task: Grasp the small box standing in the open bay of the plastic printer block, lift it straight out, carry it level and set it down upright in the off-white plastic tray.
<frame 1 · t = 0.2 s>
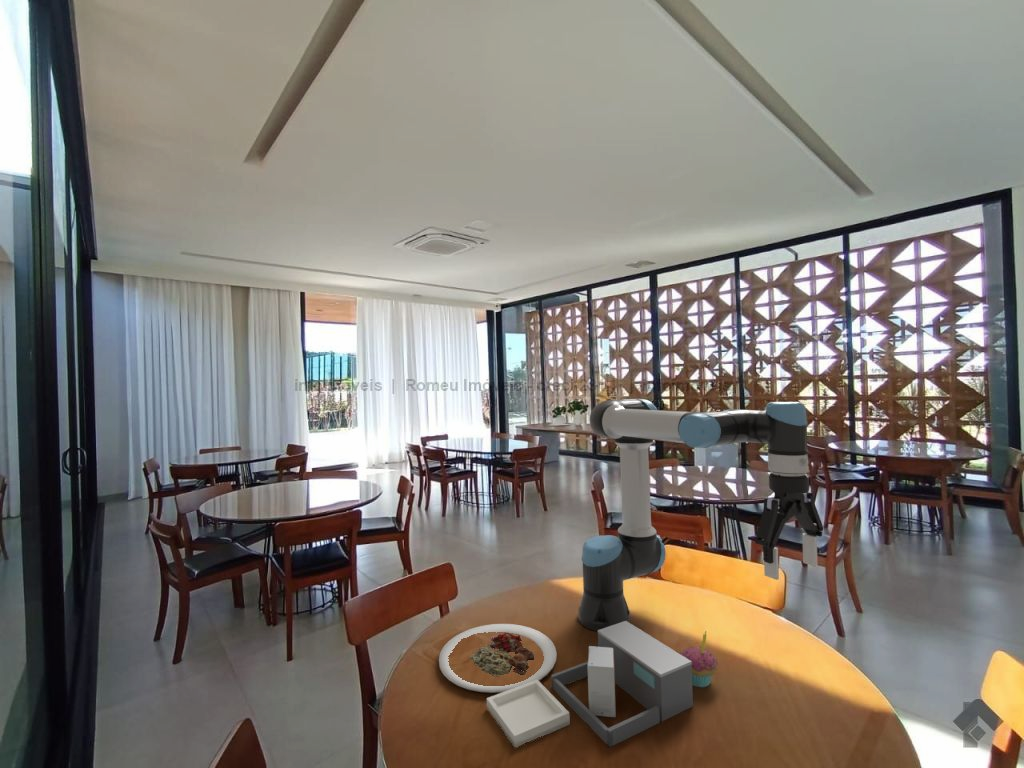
hand: (791, 570, 102), 28 cm above the table, fingers open, 13 cm apart
plated food: (498, 661, 121), on the table
cupcake: (698, 682, 109), on the table
tray: (527, 716, 99), on the table
small box: (602, 705, 102), resting in printer
printer: (602, 704, 102), on the table
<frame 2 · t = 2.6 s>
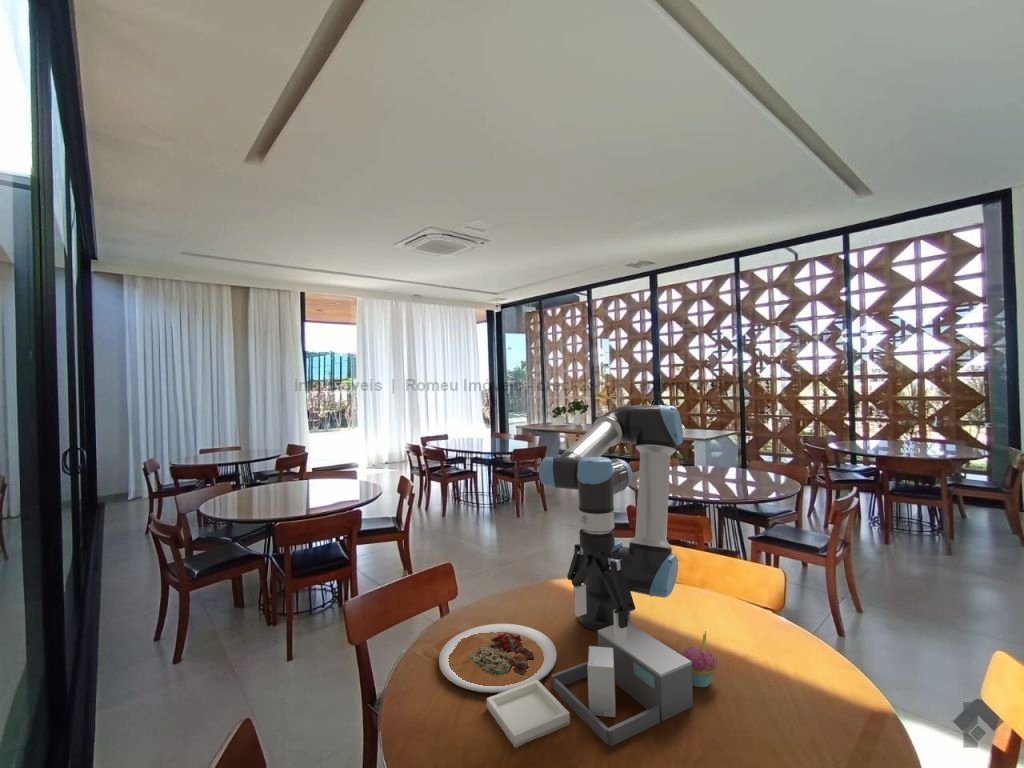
hand: (599, 627, 102), 17 cm above the table, fingers open, 13 cm apart
nothing on the table moved.
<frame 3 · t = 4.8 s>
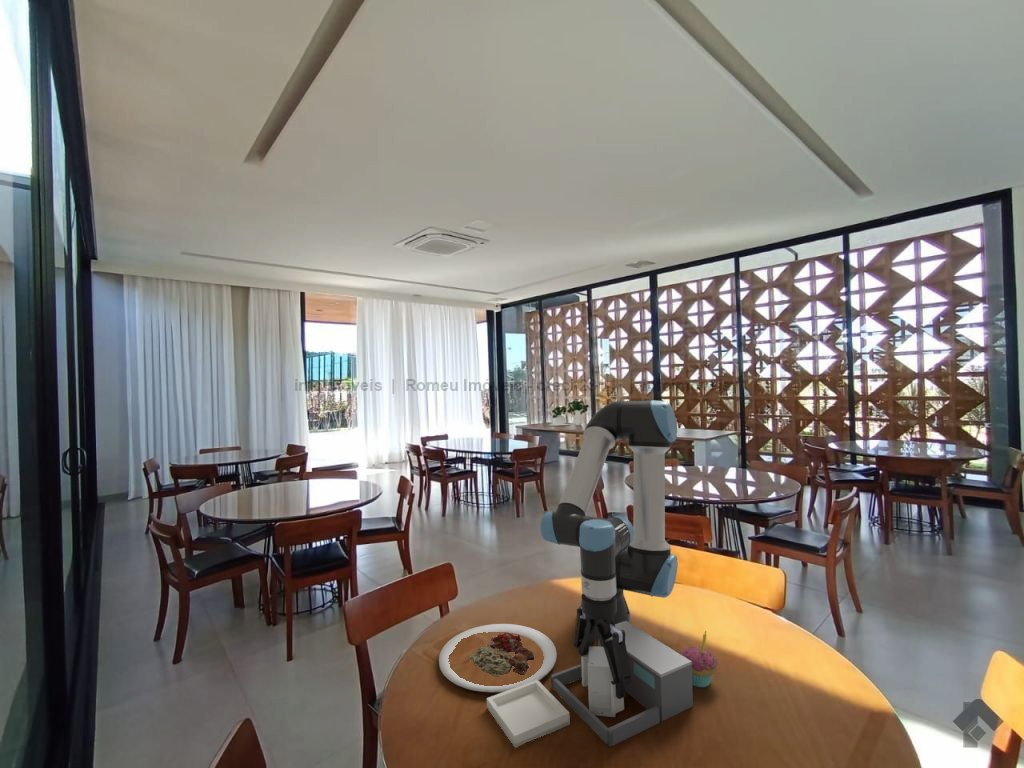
hand: (602, 696, 103), 2 cm above the table, fingers closed on small box, 9 cm apart
small box: (602, 705, 102), resting in printer, touching gripper
everything else where it was.
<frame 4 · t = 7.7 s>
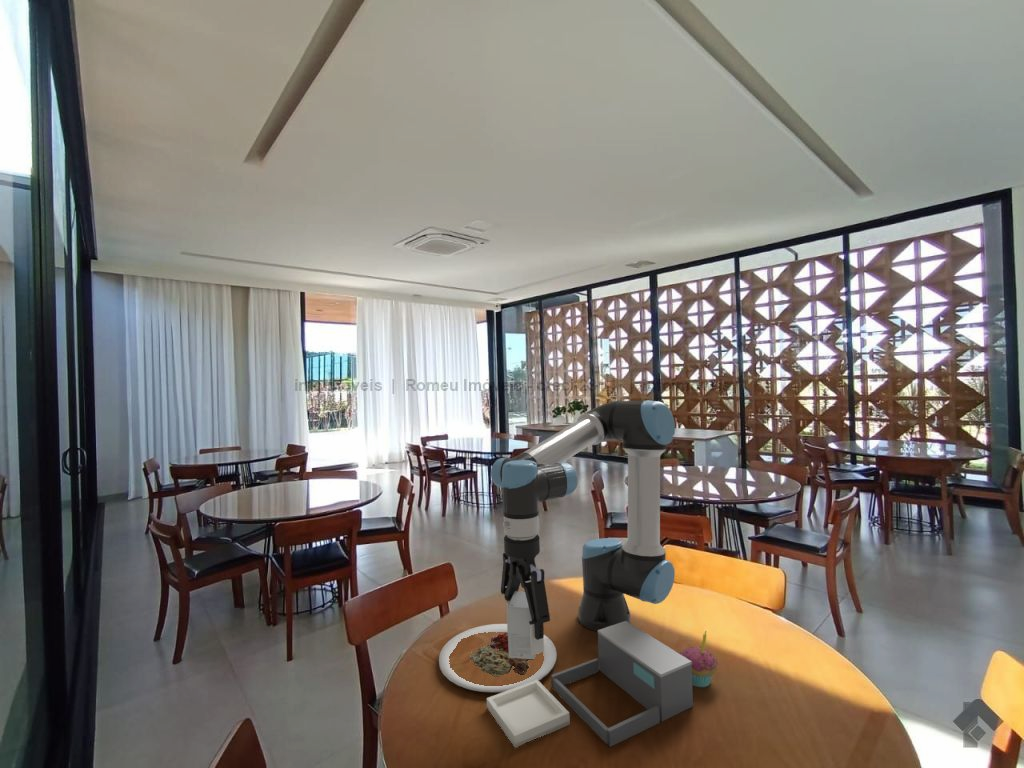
hand: (524, 640, 99), 16 cm above the table, fingers closed on small box, 9 cm apart
small box: (525, 649, 99), point 14 cm above the table, touching gripper
everything else where it was.
when the fingers open (4 cm above the table, at t = 10.6 s): small box drops 2 cm, resting on tray.
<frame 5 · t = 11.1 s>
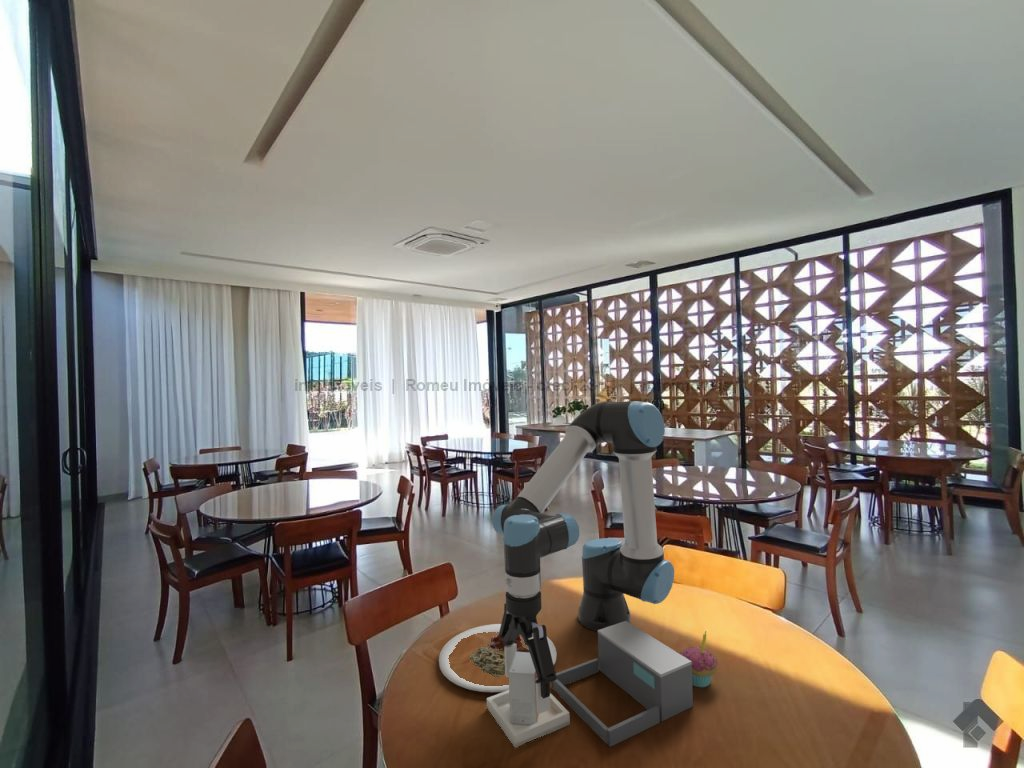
hand: (526, 691, 99), 5 cm above the table, fingers open, 13 cm apart
small box: (526, 712, 100), point 1 cm above the table, touching tray
everything else where it was.
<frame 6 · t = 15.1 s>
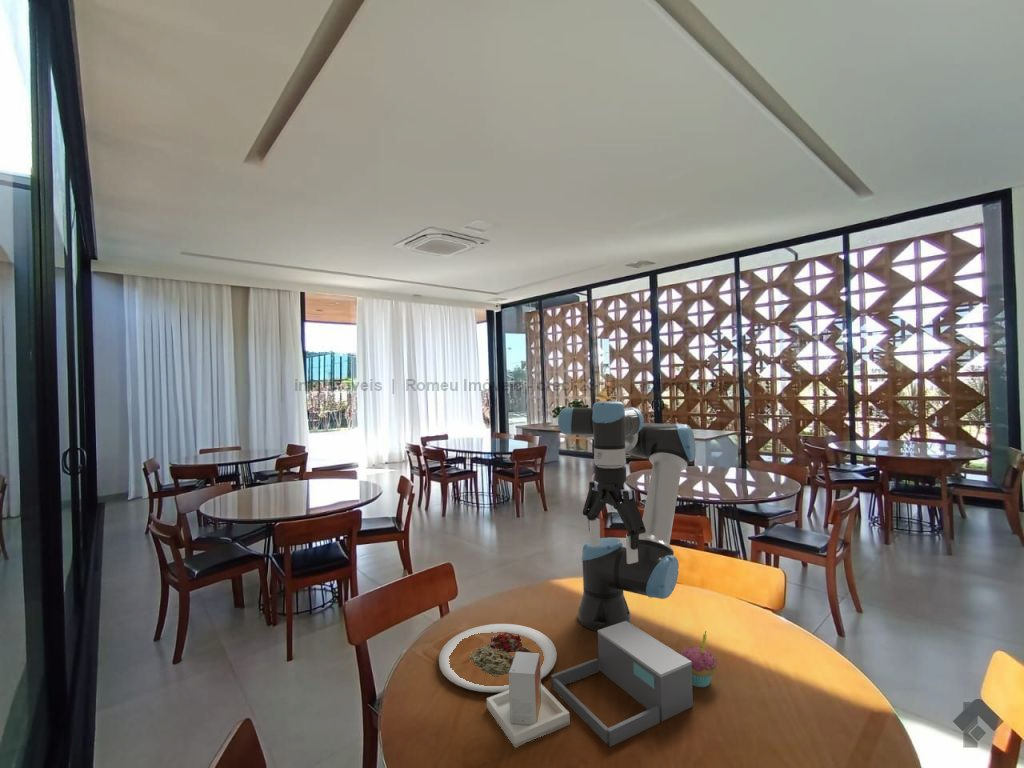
hand: (612, 553, 114), 29 cm above the table, fingers open, 13 cm apart
nothing on the table moved.
at the end: small box inside the target area on the tray (0.3 cm from its centre), point 0.6 cm above the tray's base; small box tilted 0°; the gripper is holding nothing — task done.
